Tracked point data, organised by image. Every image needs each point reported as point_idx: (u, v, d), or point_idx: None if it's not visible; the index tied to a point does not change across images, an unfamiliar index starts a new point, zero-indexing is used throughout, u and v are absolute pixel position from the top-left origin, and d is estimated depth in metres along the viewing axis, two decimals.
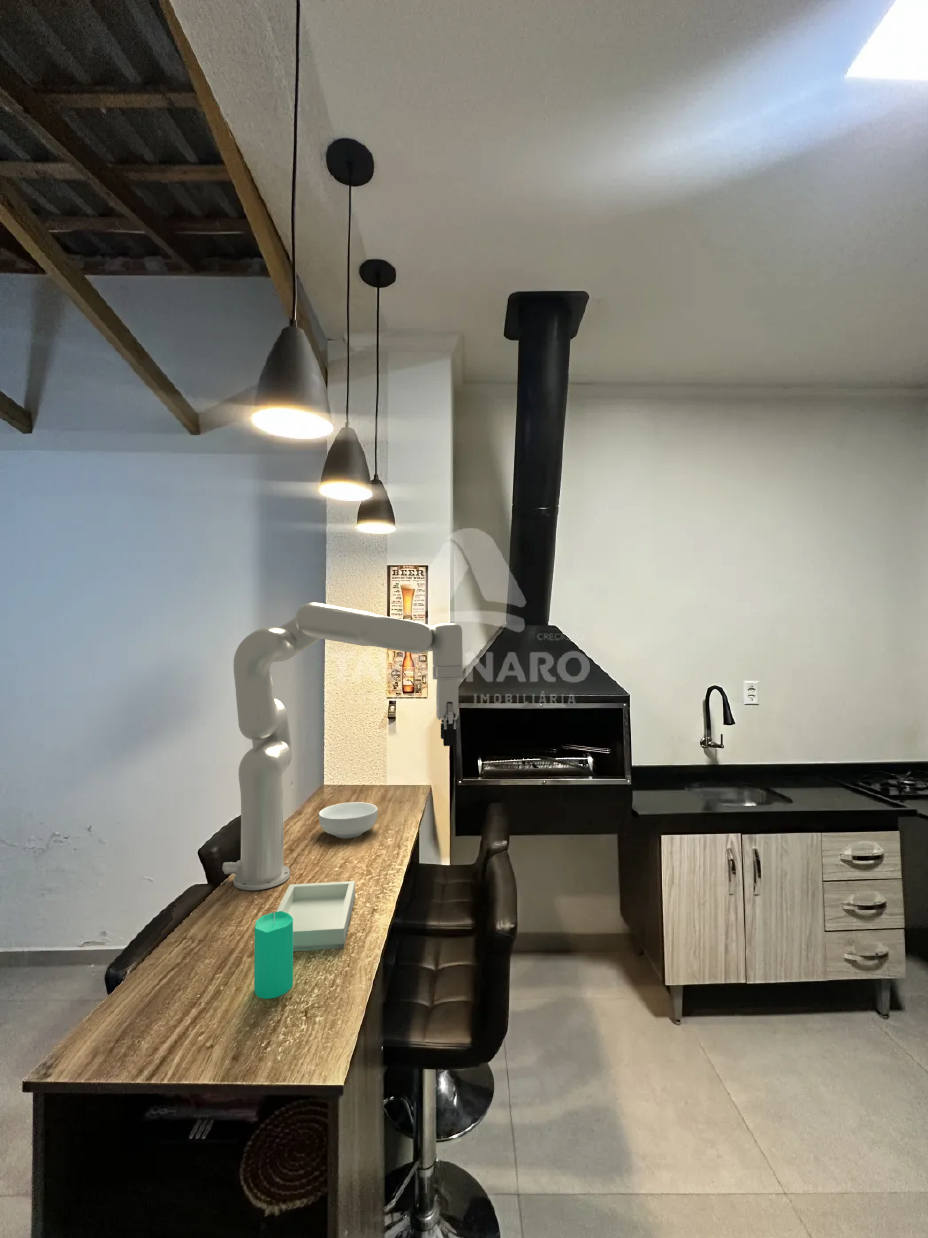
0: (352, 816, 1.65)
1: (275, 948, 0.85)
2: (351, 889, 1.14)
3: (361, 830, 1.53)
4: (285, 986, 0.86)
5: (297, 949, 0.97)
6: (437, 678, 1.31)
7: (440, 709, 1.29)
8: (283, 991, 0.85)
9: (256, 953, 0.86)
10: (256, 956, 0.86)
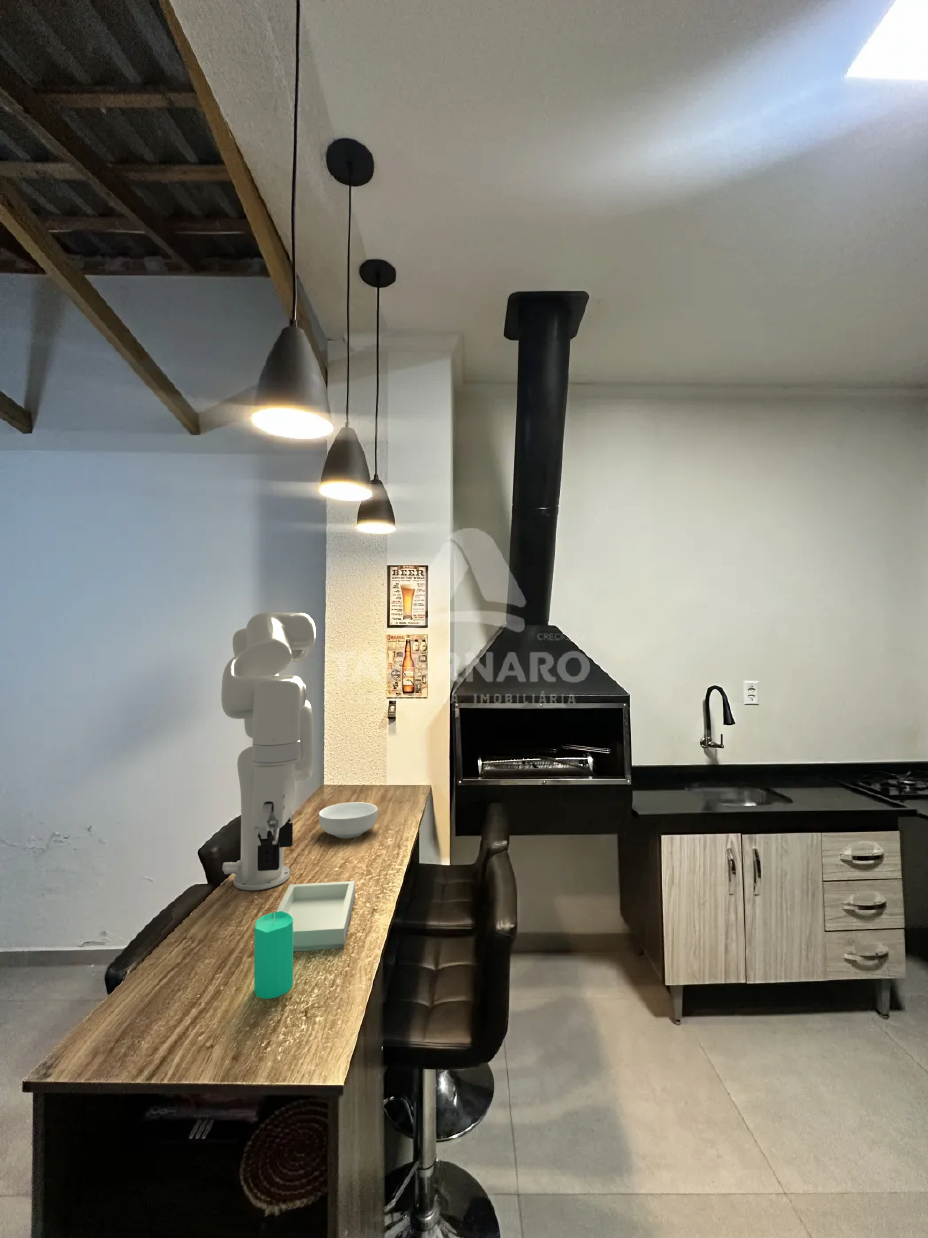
0: (352, 816, 1.65)
1: (275, 948, 0.85)
2: (351, 889, 1.14)
3: (361, 830, 1.53)
4: (285, 986, 0.86)
5: (297, 949, 0.97)
6: (255, 763, 0.87)
7: (254, 813, 0.84)
8: (283, 991, 0.85)
9: (256, 953, 0.86)
10: (256, 956, 0.86)
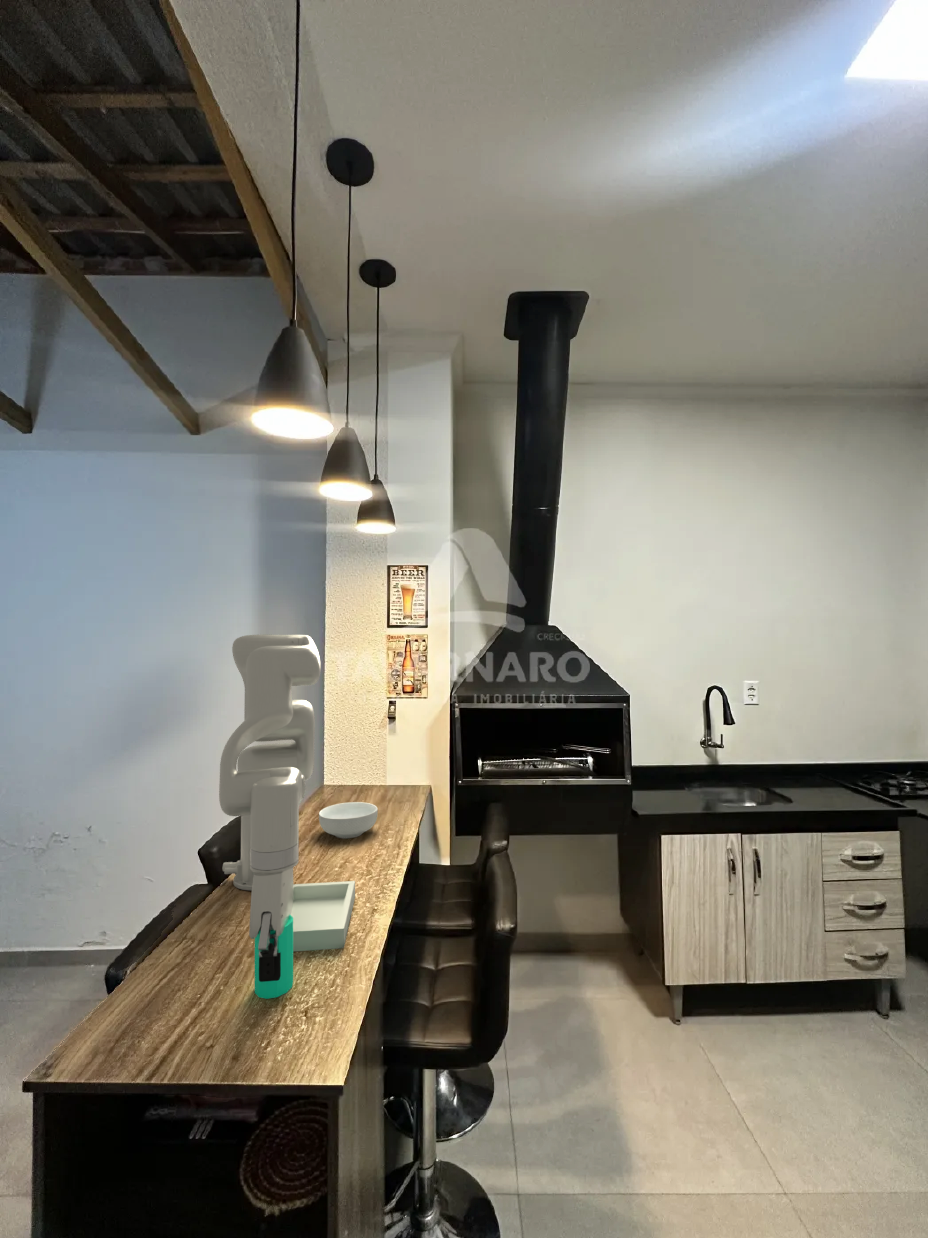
0: (352, 816, 1.65)
1: None
2: (351, 889, 1.14)
3: (361, 830, 1.53)
4: (286, 986, 0.86)
5: (297, 949, 0.97)
6: (253, 869, 0.86)
7: (251, 924, 0.83)
8: (283, 991, 0.86)
9: (256, 953, 0.86)
10: (256, 956, 0.86)
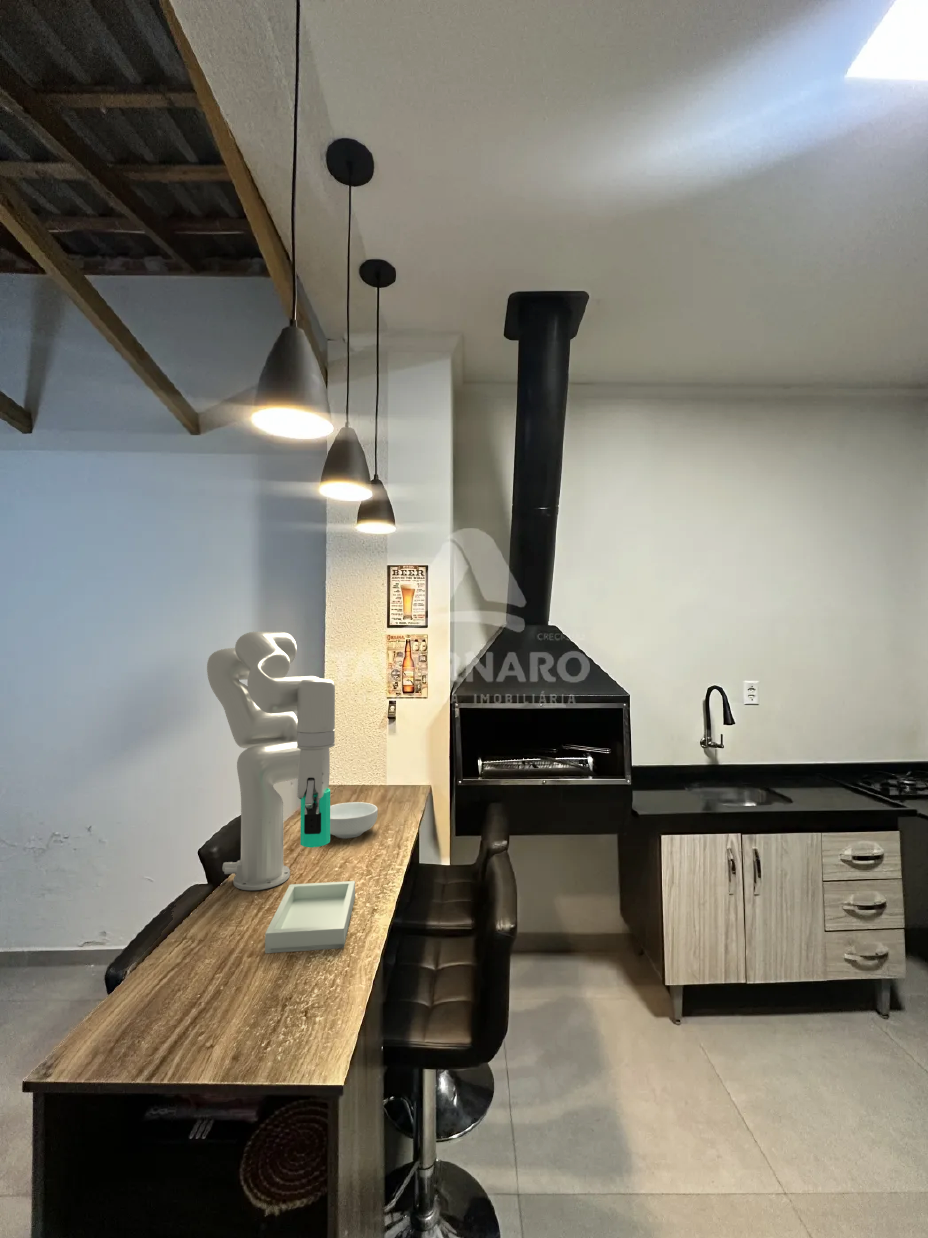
0: (352, 816, 1.65)
1: None
2: (351, 889, 1.14)
3: (361, 830, 1.53)
4: (325, 839, 1.08)
5: (297, 949, 0.97)
6: (299, 747, 1.08)
7: (299, 787, 1.05)
8: (323, 843, 1.08)
9: (302, 813, 1.08)
10: (302, 815, 1.08)
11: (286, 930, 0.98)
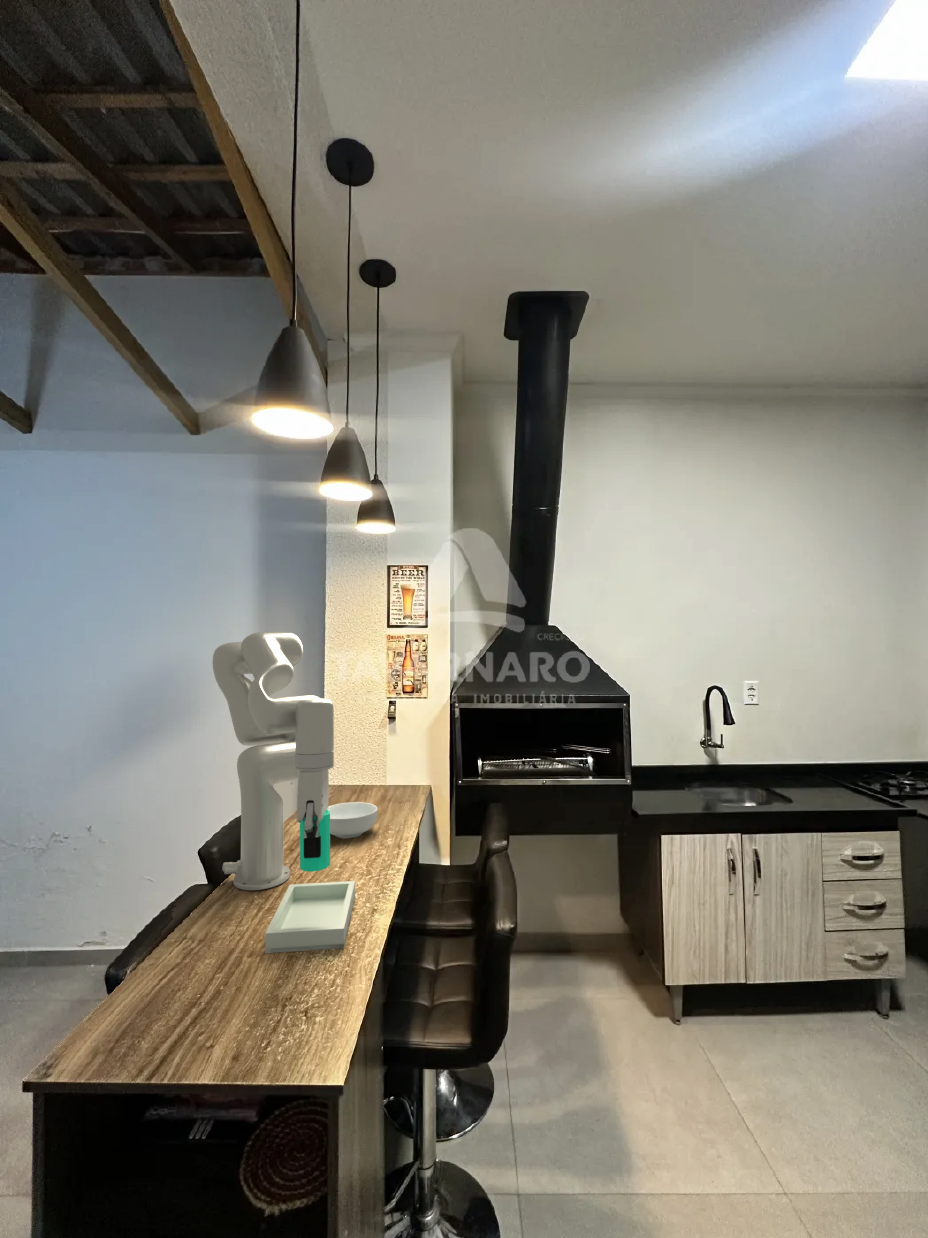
0: (352, 816, 1.65)
1: None
2: (351, 889, 1.14)
3: (361, 830, 1.53)
4: (325, 863, 1.06)
5: (297, 949, 0.97)
6: (298, 769, 1.06)
7: (298, 810, 1.03)
8: (323, 866, 1.06)
9: (301, 836, 1.06)
10: (301, 838, 1.06)
11: (286, 930, 0.98)
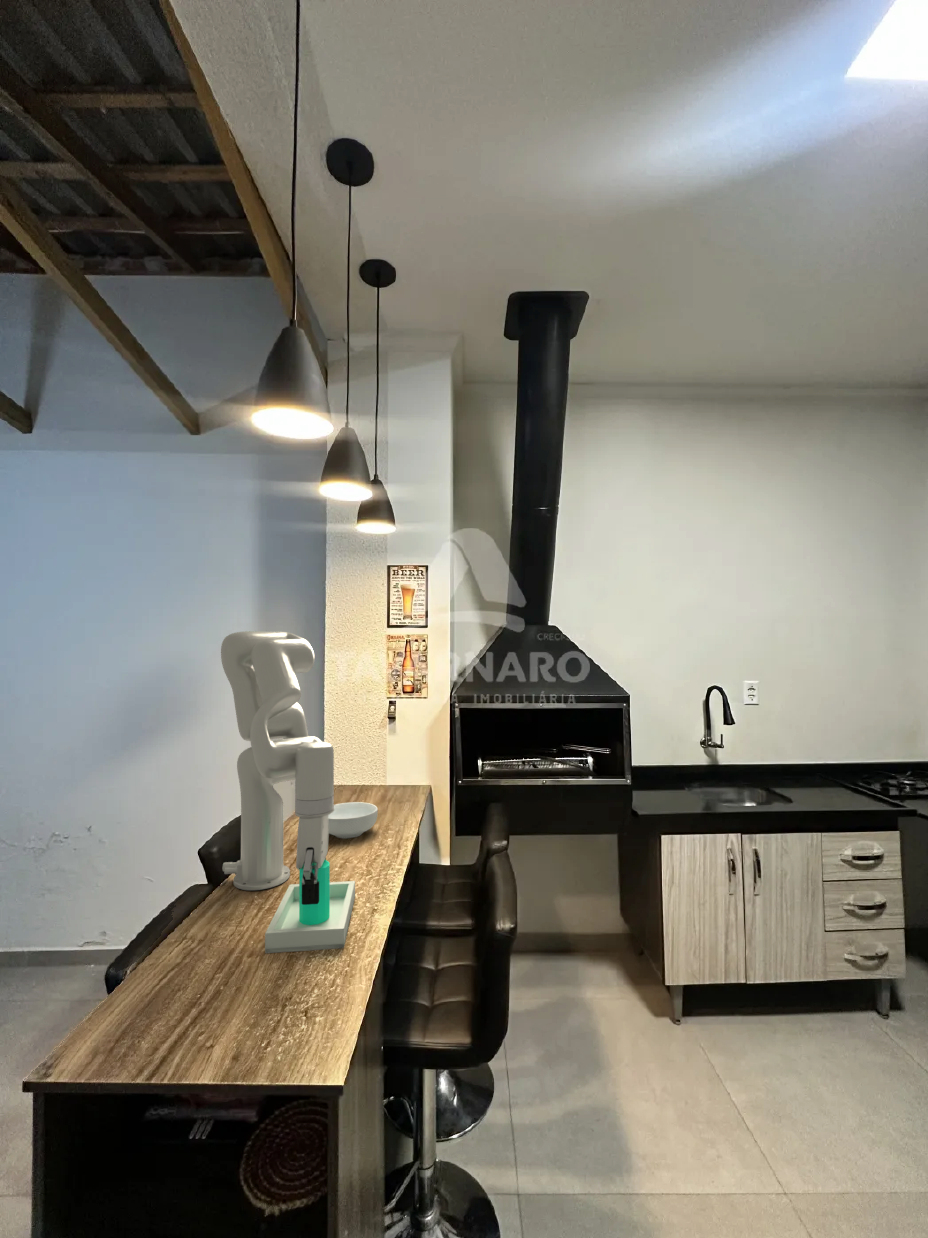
0: (352, 816, 1.65)
1: None
2: (351, 889, 1.14)
3: (361, 830, 1.53)
4: (324, 916, 1.06)
5: (297, 949, 0.97)
6: (298, 815, 1.06)
7: (298, 857, 1.03)
8: (322, 920, 1.06)
9: (301, 889, 1.06)
10: (301, 891, 1.06)
11: (286, 930, 0.98)
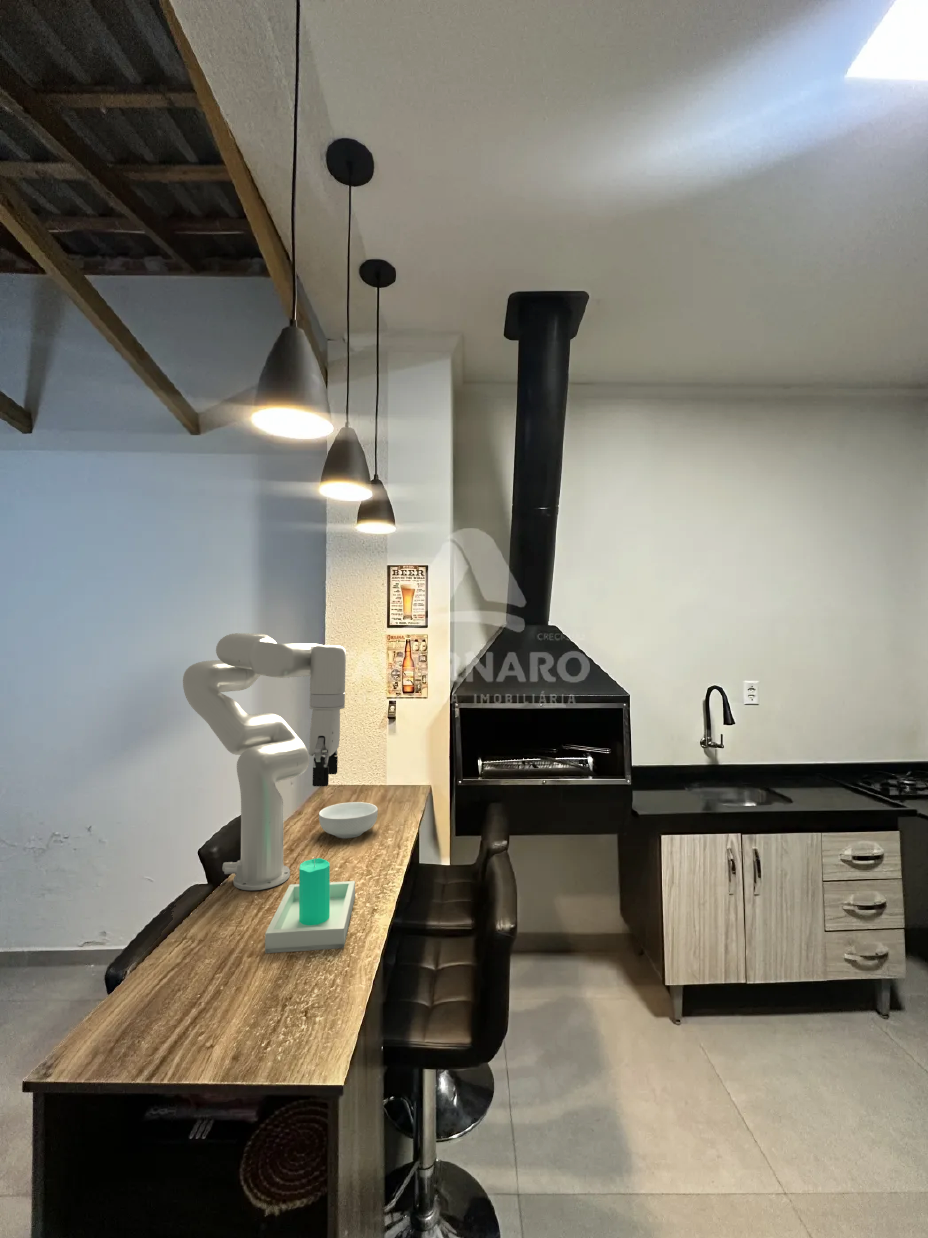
0: (352, 816, 1.65)
1: (316, 885, 1.05)
2: (351, 889, 1.14)
3: (361, 830, 1.53)
4: (324, 916, 1.06)
5: (297, 949, 0.97)
6: (311, 707, 1.15)
7: (310, 744, 1.13)
8: (322, 920, 1.06)
9: (301, 889, 1.06)
10: (301, 892, 1.06)
11: (286, 930, 0.98)
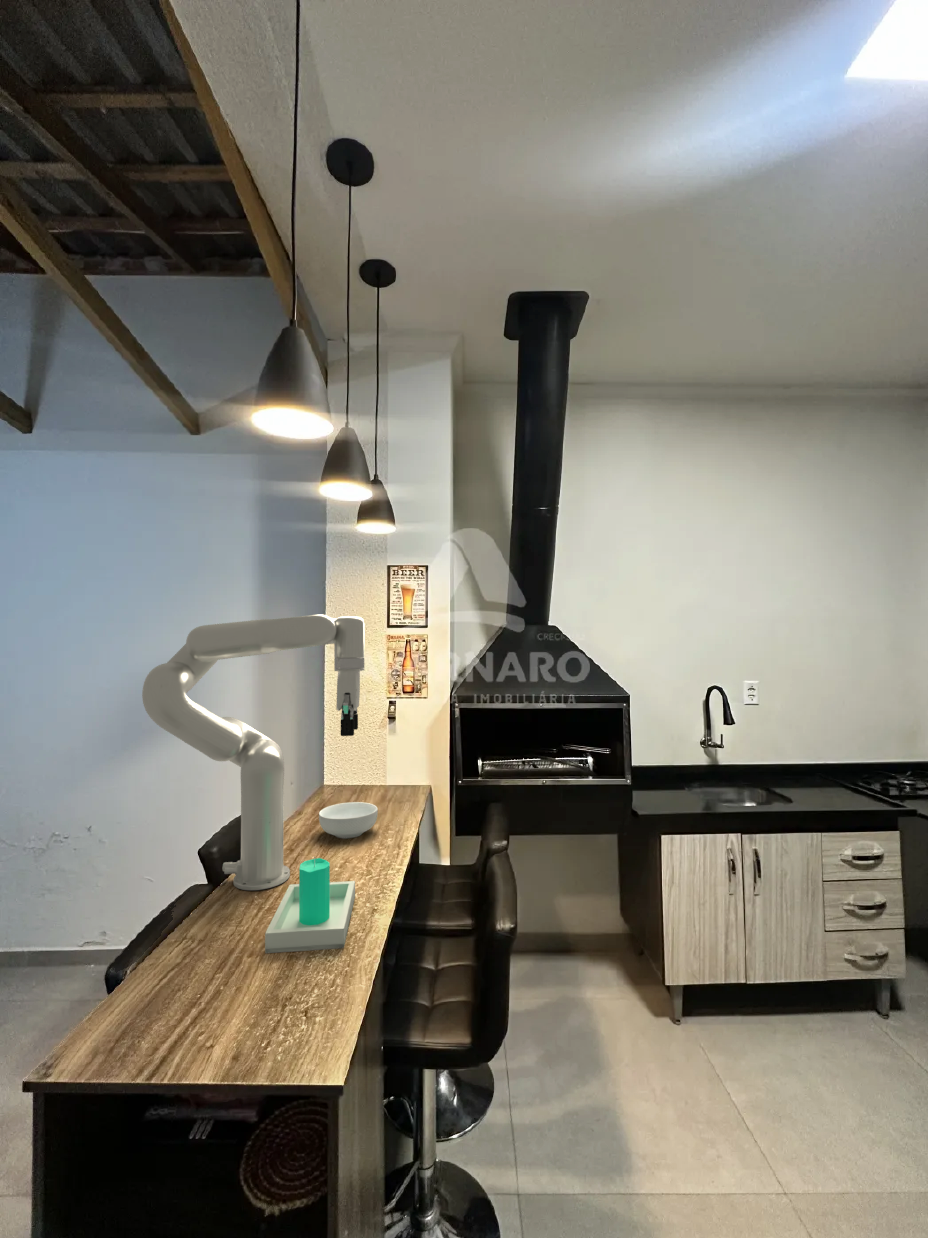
0: (352, 816, 1.65)
1: (316, 885, 1.05)
2: (351, 889, 1.14)
3: (361, 830, 1.53)
4: (324, 916, 1.06)
5: (297, 949, 0.97)
6: (337, 670, 1.34)
7: (338, 700, 1.32)
8: (322, 920, 1.06)
9: (301, 889, 1.06)
10: (301, 892, 1.06)
11: (286, 930, 0.98)
